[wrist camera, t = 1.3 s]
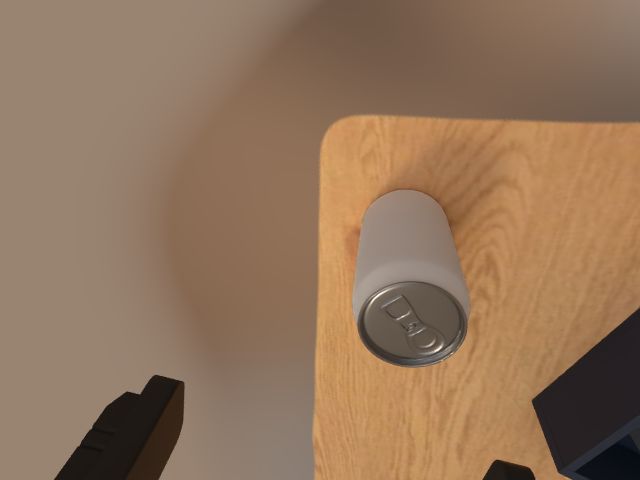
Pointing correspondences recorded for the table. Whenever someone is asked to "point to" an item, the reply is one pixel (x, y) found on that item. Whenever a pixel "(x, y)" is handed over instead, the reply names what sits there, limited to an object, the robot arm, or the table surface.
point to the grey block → (636, 437)
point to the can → (409, 282)
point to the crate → (596, 410)
